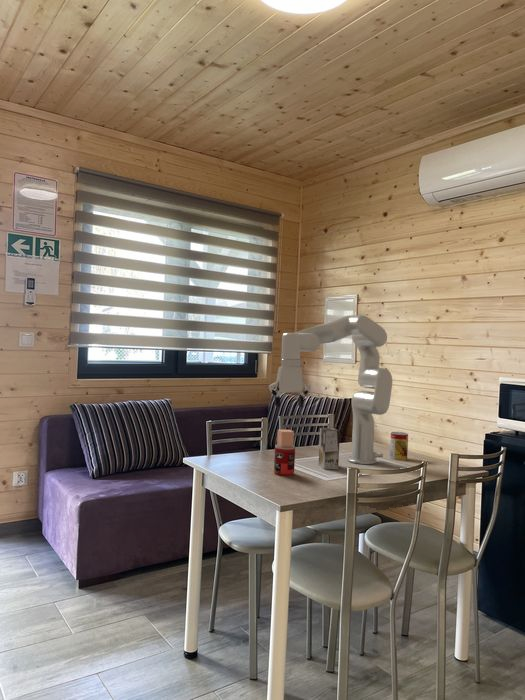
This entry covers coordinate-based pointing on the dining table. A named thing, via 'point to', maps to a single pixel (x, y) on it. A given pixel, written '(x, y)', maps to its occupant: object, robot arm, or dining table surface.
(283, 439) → the block
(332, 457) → the coffee box
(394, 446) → the canned food
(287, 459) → the canned food
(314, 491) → the dining table surface
